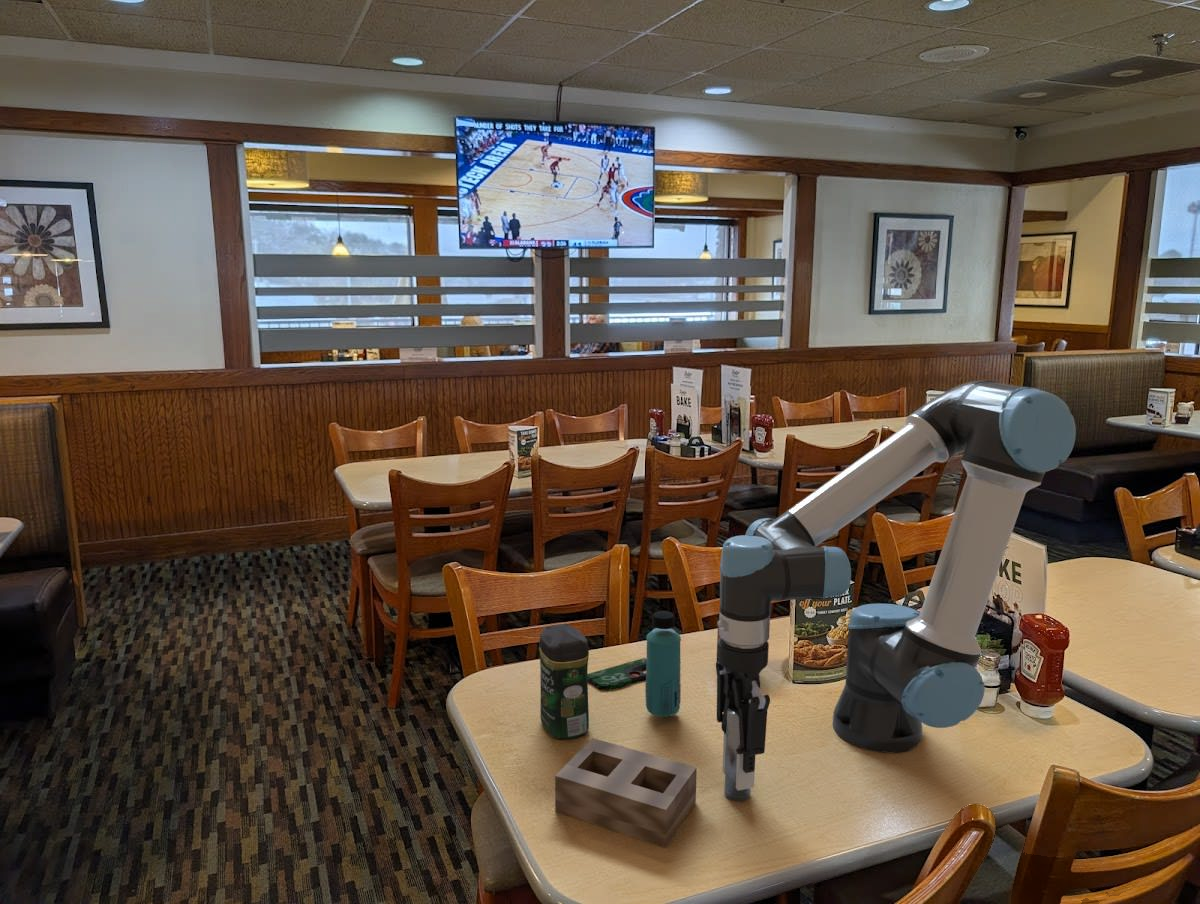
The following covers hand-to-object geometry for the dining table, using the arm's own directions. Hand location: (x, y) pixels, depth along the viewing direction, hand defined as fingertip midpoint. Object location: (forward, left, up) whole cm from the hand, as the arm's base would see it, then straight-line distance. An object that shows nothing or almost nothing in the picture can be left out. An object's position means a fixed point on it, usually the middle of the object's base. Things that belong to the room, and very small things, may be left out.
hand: (737, 778), depth 132 cm
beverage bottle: (+20, -17, -3) cm, 26 cm away
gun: (+32, -28, -3) cm, 43 cm away
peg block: (+14, +11, -3) cm, 18 cm away
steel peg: (0, 0, -3) cm, 3 cm away
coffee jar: (+34, -5, -3) cm, 34 cm away
